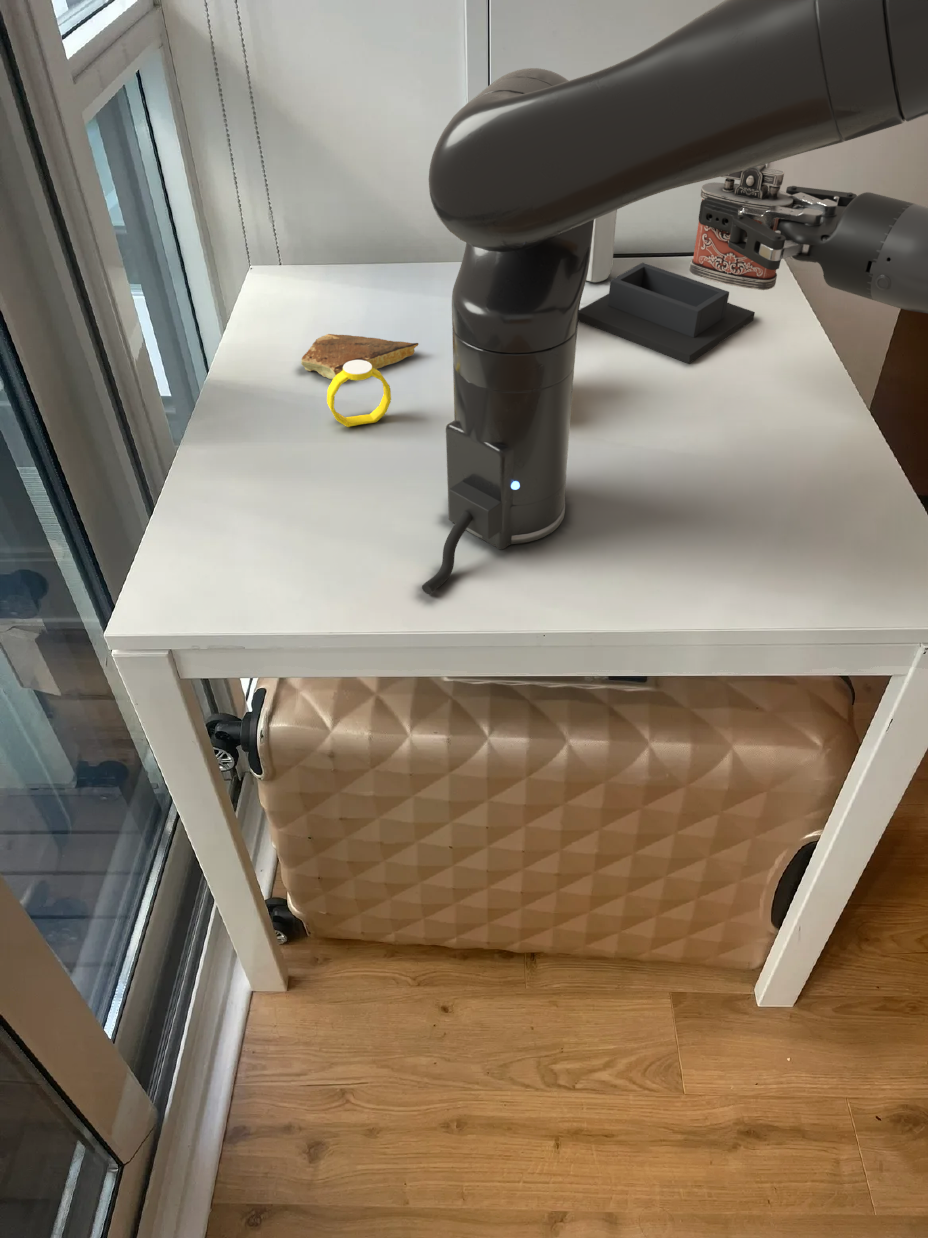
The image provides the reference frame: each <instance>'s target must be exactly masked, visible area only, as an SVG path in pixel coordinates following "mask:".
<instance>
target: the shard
mask: <svg viewBox="0 0 928 1238" xmlns="http://www.w3.org/2000/svg"><path fill="white" fill-rule="evenodd" d="M418 346H419V342H408V341H395V340H388V339H383V338H377V337H366V336H360V335H349V334H334V333H328V334H325V335H321V336H320V337H318V338H317V339H315V341H314V342H313V343H312V345H311V346H310V347H309V348H308V350H307V351H306V353H304V355H303V356H302V357H301V361H300V362H301V363H300V365H302V366H303V367H304V370H305V371H307V372H312V371H315V372H317V373H318V374H319V375H321V376H322V377H324V378H327V379H329V380H333V378H334V377H335V376H336V375H337V374H339V373H340V372H341V371H343V365H344V364H345V363H347V362H349V361H352V360H364V361H367V362H369V363H370V364H371V365H372V367H373V368H374V369H376V370H378V369H381V368H383V367H386V366H389V365H393V364H396V363H398V362H401V361H402V360H404V359H405V358H408V357H411V356H414V354H415V352H416V351H415V349H416V348H417V347H418Z"/></svg>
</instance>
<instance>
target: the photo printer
mask: <svg viewBox="0 0 928 1238" xmlns="http://www.w3.org/2000/svg"><path fill="white" fill-rule="evenodd" d="M617 213H618V209H617V210H615V211H612V212H610V213H608V214H605V215H603V216H601V217H598V218H596V219H594V225H593V234H592V243H591V253H590V262H589V269H588V274H587V278H586V281H588V282H591V283H600V282H603V281H605V280H607V279H608V278H609V277H610V274H611V273H612V271H613V264H614V263H613V261H614V249H615V239H616V238H615V237H616V226H617V216H618V215H617Z"/></svg>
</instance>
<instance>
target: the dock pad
mask: <svg viewBox="0 0 928 1238" xmlns="http://www.w3.org/2000/svg"><path fill="white" fill-rule="evenodd" d="M729 296H730V291H728V290H726V289H723V288H720V287H716V286H713V285H711V284H708V283H705V282H701V281H699V280H696V279H692V278H690V277H686V276H685V275H682V274H678V273H675V272H672V271H670V270H666V269H663V268H660V267H657V266H654V265H651V264H648V263H645V262H641V263H639V264H637V265H636V266H634V267H631V268H630V269H628V270H626V271H625V272H623V273H621V274H619V275H618V276H616V277H614V278H612V279H610V281H609V290H608V293H607V294H606V295H604V296H601V297H600V298H598V299H596V300H594V301H593V302H591V303H590V304H588V305H585V306H584V307H582V308H581V309H580V308H579V314H578V322H581V323H583V324H586V325H588V326H591V327H594V328H597V329H599V330H601V331H604V332H606V333H609V334H611V335H614V336H617V337H620V338H622V339H625V340H627V341H630V342H633V343H635V344H637V345H639V346H642V347H645V348H648V349H649V350H653V351H655V352H658V353H661V354H663V355H665V356H668V357H671V358H673V359H676V360H677V361H681V362H683V363H685V364H689V365H690V363H692V362H694V361H695V360H697V359H698V358H700V357H701V356H703V355H704V354H706V353H707V352H708V351H710V350H712V349H713V348H714V347H716V346H717V345H719V344H720V343H723V341H725V340H726V339H728V338H729V337H731V336H732V335H734V334H735V333H736V332H738V331H739V330H741V329H743V328H745V326H747V325H749V324H750V323H752V322H753V321H754V319H755V315H756V313H755V311H753V310H750V309H747V308H744V307H741V306H738V305H736V304H733V303H731V302H728V301H729Z"/></svg>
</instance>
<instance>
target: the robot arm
mask: <svg viewBox="0 0 928 1238" xmlns="http://www.w3.org/2000/svg"><path fill="white" fill-rule="evenodd" d="M926 116H928V0H723V1H721V2H720V3H718V4H716V5H715V6H713V7H712V8H709V9H708V10H707V11H705V12H703V13H702V14H700V15H699V16H697V17H695V18H693V19H692V20H691V21H689V22H687V23H686V24H685V25H683V26H681V27H680V28H678V29H677V30H675V31H674V32H672V33H670V34H669V35H667V36H665V37H664V38H662V39H661V40H659V41H657V42H656V43H654V44H652V45H651V46H649V47H647V48H645V49H644V50H642V51H640V52H638V53H637V54H635V55H633V56H631V57H629V58H627V59H623V60H622V61H620V62H617V63H615V64H613V65H610V66H608V67H605V68H603V69H600V70H598V71H595V72H592V73H589V74H586V75H583V76H579V77H576V78H573V79H571V80H570V79H567V78H566V77H565V76H563V75H561V74H559V73H557V72H554V71H552V70H549V69H546V68H539V67H538V68H537V67H536V68H535V67H529V68H521V69H517V70H514V71H511V72H507V73H506V74H504V75H502V76H501V77H499V78H497V79H496V80H495V81H492V82H491V83H490V84H488V86H486V87H485V88H484V89H483V90H482V91H481V92H479V93H478V94H476V96H474V97H473V98H472V99H470V100H469V101H468V102H467V103H466V104H465V105H464V106H462V108H460V109H459V110H458V111H457V112H456V113H455V114H454V115H453V117H451V119H450V121H449V122H448V123H447V125H446V126H445V127H444V129H443V130H442V132H441V134H440V136H439V138H438V140H437V142H436V145H435V147H434V150H433V153H432V155H431V160H430V164H429V170H428V189H429V190H428V192H429V198H430V201H431V204H432V208H433V210H434V211H435V214H436V216H437V217H438V219H439V220H440V222H441V223H442V224H443V225H444V226H445V228H446V229H447V230H448V232H450V233H451V234H452V235H453V236H455V237H456V238H458V240H460V241H462V242H464V243H466V244H465V248H464V252H463V257H462V260H461V263H460V267H459V270H458V273H457V276H456V279H455V281H454V285H453V288H452V293H451V325H452V326H451V327H452V329H451V330H452V331H451V332H452V373H453V375H452V376H453V413H454V416H453V417H454V418H453V419H454V420H452V421H450V422H448V424H447V425H446V426H445V445H446V446H445V447H446V477H447V478H446V479H447V480H446V481H447V507H448V508H447V509H448V521H450V522H452V523H453V524H454V525H453V526H452V528H451V530H450V531H449V533H448V535H447V538H446V539H445V541H444V545H443V549H442V562H441V566H440V568H439V570H438V571H437V573H436V574H435V575H434V576H432V577H431V578H429V579H428V580H426V582H424V583H423V584H422V585H421V589H422V591H423V592H424V593H425V594H426V595H431V594H432V593H433V592H434V591H435V590H437V589H438V588H440V587H441V586H442V585H443V584H445V583H446V581H447V580H448V579H449V577H450V576H451V574H452V572H453V570H454V566H455V554H456V549H457V546H458V544H459V541H460V540H461V538H462V536H463V534H464V533H465V532H466V531H467V532H469V533H470V534H472V536H475V537H477V538H479V539H481V540H483V541H484V542H486V543H488V544H490V545H492V546H493V547H495V548H497V549H499V550H505V549H506V548H507V547H509V546H511V545H515V544H525V543H530V542H535V541H537V540H540V539H542V538H545V537H547V536H549V535H550V534H552V533H553V532H554V531H555V530H557V528H559V526H560V525H561V524H562V523H563V520H564V518H565V514H566V485H567V483H566V482H567V471H568V470H567V469H568V458H569V457H568V456H569V443H570V429H571V417H572V416H571V415H572V403H573V388H574V377H575V363H576V354H577V353H576V352H577V341H578V340H577V338H578V337H577V336H578V325H579V321H578V314H579V310H580V305H581V300H582V297H583V293H584V290H585V286H586V281H587V280H586V278H587V274H588V269H589V262H590V253H591V243H592V234H593V225H594V219H596V218H598V217H601V216H603V215H605V214H608V213H610V212H612V211H615V210H617V211H618V210H620V209H621V208H624V207H626V206H628V205H630V204H633V203H636V202H639V201H641V200H644V199H646V198H648V197H652V196H654V195H657V194H660V193H664V192H666V191H669V190H673V189H676V188H677V189H678V188H680V187H685V186H687V185H692V184H696V183H700V182H704V181H708V180H712V179H716V178H721V177H720V176H724V175H728V174H732V173H736V172H740V171H743V170H746V169H750V168H753V167H757V166H760V165H764V164H770V163H774V162H777V161H780V160H784V159H787V158H791V157H793V156H794V157H795V156H798V155H801V154H805V153H808V152H811V151H815V150H819V149H822V148H827V147H830V146H831V147H832V146H835V145H839V144H841V143H845V142H847V141H851V140H854V139H857V138H861V137H864V136H867V135H870V134H873V133H877V132H880V131H882V130H886V129H889V128H893V127H896V126H899V125H902V124H904V123H905V122H906V123H908V122H912V121H914V120H917V119H920V118H923V117H926ZM734 184H735V185H739V183H734ZM778 193H781V194H784V195H788V196H789V197H790V198H792V199H793V204H792V208H785V207H779V206H770V207H769V208H768V209H767V210H760V209H754V208H749V207H743V206H741V205H738V204H734V203H730V202H727V201H722V200H719V199H715V198H711V197H708V198H706V199H704V200H702V199H701V202H700V207H699V213H698V223H699V222H700V224H702V225H705V226H708V227H712V228H715V229H718V230H722V231H725V232H728V233H731V234H730V239H729V243H728V247H729V248H731V249H733V250H735V251H736V252H738V253H740V254H742V255H743V256H745V257H747V258H749V259H750V260H752V261H754V262H756V263H757V264H759V265H761V266H763V267H764V268H766V269H769V270H776V271H777V270H779V269H780V265H781V261H782V260H784V259H787V258H789V259H791V260H792V261H796V262H802V263H814V264H816V263H817V264H818V265H819V266H820V267H821V270H822V273H823V279H824V281H825V283H826V285H827V286H829V287H830V288H833V289H835V290H839V291H843V292H845V293H849V294H853V295H855V296H858V297H862V298H865V299H868V300H872V301H874V302H878V303H881V304H885V305H888V306H891V307H894V308H898V309H900V310H904V311H909V312H915V313H923V314H927V315H928V206H926V205H922V204H918V203H914V202H910V201H906V200H902V199H898V198H893V197H889V196H886V195H882V194H877V193H874V192H870V191H867V192H862V193H860V194H858V195H857V194H856V193H853V192H847V191H846V192H845V191H839V190H831V189H822V188H813V187H804V186H798V185H790V186H787V187H786V190H785V191H782V190H781V189H780V190H779V192H778ZM775 218H779V221H778V226H777V230H776V231H773V227H774V223H775ZM752 219H753V220H752ZM754 220H759V221H761V222H762V224H760V223H758V222H756V221H754Z"/></svg>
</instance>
